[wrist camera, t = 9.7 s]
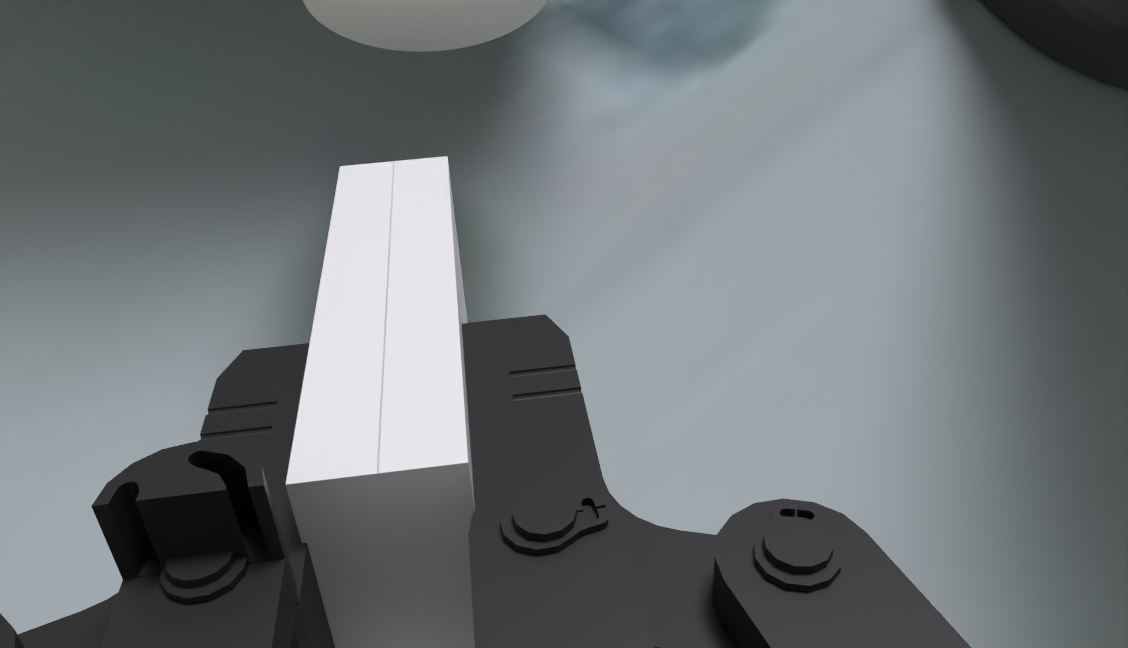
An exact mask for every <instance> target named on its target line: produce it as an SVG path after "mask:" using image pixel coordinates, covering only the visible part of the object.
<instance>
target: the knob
mask: <svg viewBox="0 0 1128 648" xmlns="http://www.w3.org/2000/svg"><path fill="white" fill-rule="evenodd" d="M547 1H548V0H303V2H304V4H305V6H306V8H307V9H308V11H309V12H310V13H311V14H312V15H313V17H314V18H316V19H317V20H318V21H319V22H320V23H321V24H322V25H324V26H325V27H327V28H328V29H330V30H331V31H333V32H335V33H337V34H339V35H341V36H343V37H345V38H348V39H350V40H353V41H355V42H359V43H362V44H365V45H369V46H373V47H378V48H383V49H390V50H397V51H410V52H429V51H444V50H452V49H459V48H464V47H469V46H473V45H477V44H481V43H484V42H487V41H490V40H493V39H496V38H499V37H501V36H503V35H506V34H508V33H510V32H512V31H514V30H515V29H517V28H519V27H521V26H522V25H524V24H525V23H527V22H528V21H529V20H531V19H532V18H533V17H534V16H535V15H537V14H538V13H539V11H540V10H541V9H542V8H543V7H544V6H545V4H546V3H547Z"/></svg>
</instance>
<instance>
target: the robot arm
mask: <svg viewBox="0 0 1128 648" xmlns="http://www.w3.org/2000/svg"><path fill="white" fill-rule="evenodd" d="M984 1H985V2H986V3H987V4H988V5H989V6H990V7H991V8H992V9H993V10H994V11H995V12H996V13H997V14H998V15H999V16H1000V17H1001V18H1002V19H1003V20H1004V21H1005V22H1006V23H1008V24H1009V25H1010V26H1011V27H1012V28H1013V29H1015V30H1016V31H1017V32H1018V33H1019V34H1021V35H1022V36H1023V37H1025V38H1026V39H1027V40H1029V41H1030V42H1031V43H1033V44H1034V45H1035V46H1037V47H1038V48H1040V49H1042V50H1043V51H1045V52H1046V53H1048V54H1049V55H1051V56H1052V57H1054V58H1056V59H1058V60H1060V61H1061V62H1063V63H1065V64H1067V65H1068V66H1070V67H1072V68H1075V69H1077V70H1079V71H1081V72H1083V73H1085V74H1087V75H1090V76H1092V77H1095V78H1097V79H1100V80H1102V81H1105V82H1107V83H1110V84H1114V85H1117V86H1120V87H1123V88H1126V89H1128V0H984ZM200 435H201V440H199V441H198V442H192V443H188V444H184V445H179V446H175V447H171V448H166V449H162V450H160V451H158V452H156V453H154V454H152V455H150V456H147V457H145V458H143V459H141V460H139V461H137V462H135V463H132V464H131V465H130V466H128V467H127V468H126V469H125V470H123V471H122V472H121V473H120V474H118V475H117V476H116V477H115V478H113V479H112V480H111V481H109V482H108V483H107V484H106V486H105V487H104V489H103V490H102V491H101V493H100V494H99V496H98V497H97V499H96V500H95V502H94V503H93V505H92V508H93V511H94V513H95V515H96V518H97V520H98V522H99V525H100V527H101V529H102V532H103V534H104V536H105V539H106V541H107V543H108V546H109V548H110V550H111V553H112V555H113V557H114V560H115V562H116V564H117V567H118V569H119V571H120V574H121V576H122V578H123V581H122V584H121V587H120V590H119V592H118V593H117V594H115V595H114V596H112V597H110V598H109V599H107V600H105V601H103V602H101V603H98V604H96V605H94V606H92V607H90V608H87V609H85V610H83V611H81V612H78V613H75V614H72V615H70V616H67V617H64V618H61V619H59V620H56V621H53V622H51V623H48V624H45V625H42V626H40V627H37V628H34V629H32V630H29V631H26V632H23V633H21V634H18V635H17V633H16V631H15V630H14V628H13V627H12V626H11V625H10V624H9V623H8V622H7V620H6V619H5V618H4V617H3V616H2V615H1V614H0V648H971V647H970V646H969V645H968V644H967V643H966V642H965V640H964V639H963V638H962V637H961V636H960V635H959V634H958V633H957V632H956V631H955V629H954V628H953V627H952V626H951V625H950V624H949V623H948V622H947V621H946V620H945V618H944V617H943V616H942V615H941V614H940V613H939V612H938V611H937V610H936V609H935V607H934V606H933V605H932V604H931V603H930V602H929V601H928V600H927V599H926V598H925V596H924V595H923V594H922V593H921V592H920V591H919V590H918V589H917V588H916V587H915V586H914V584H913V583H912V582H911V581H910V580H909V579H908V578H907V577H906V576H905V575H904V573H903V572H902V571H901V570H900V569H899V568H898V567H897V566H896V565H895V564H894V562H893V561H892V560H891V559H890V558H889V557H888V556H887V555H886V554H885V553H884V551H883V550H882V549H881V548H880V547H879V546H878V545H877V544H876V543H875V542H874V540H873V539H872V538H871V537H870V536H869V535H868V534H867V533H866V532H865V531H864V530H863V529H861V528H860V527H859V526H858V525H856V524H855V523H854V522H852V521H851V520H850V519H849V518H847V517H846V516H845V515H844V514H842V513H839V512H837V511H834V510H832V509H829V508H827V507H824V506H822V505H819V504H817V503H814V502H807V501H798V500H790V499H778V500H772V501H766V502H759V503H754V504H752V505H750V506H748V507H747V508H745V509H743V510H741V511H739V512H737V513H735V514H733V515H732V516H731V517H730V518H729V520H728V521H727V522H726V523H725V525H724V526H723V527H722V529H721V530H720V531H719V533H718V534H717V535H712V534H704V533H696V532H688V531H680V530H675V529H670V528H666V527H661V526H657V525H654V524H652V523H650V522H647V521H645V520H643V519H640V518H638V517H636V516H635V515H633V514H632V513H630V512H629V511H627V510H626V509H625V508H623V507H622V506H620V505H619V503H618V502H617V501H616V500H615V499H614V498H613V496H612V495H611V494H610V493H609V491H608V489H607V487H606V484H605V482H604V480H603V477H602V473H601V469H600V465H599V460H598V456H597V452H596V448H595V444H594V440H593V436H592V431H591V427H590V423H589V419H588V415H587V411H586V407H585V402H584V398H583V394H582V393H581V386H580V382H579V378H578V374H577V370H576V367H575V361H574V357H573V353H572V349H571V345H570V340H569V337H568V336H567V335H566V334H565V333H564V332H563V331H562V330H561V329H560V328H559V327H558V326H557V325H556V324H555V323H554V322H553V321H552V320H551V319H550V318H548V317H547V316H546V315H537V316H528V317H519V318H509V319H500V320H491V321H482V322H473V323H468V322H467V313H466V305H465V296H464V288H463V280H462V271H461V263H460V255H459V247H458V238H457V230H456V222H455V214H454V205H453V197H452V189H451V181H450V172H449V164H448V156H444V157H433V158H423V159H412V160H401V161H391V162H380V163H369V164H359V165H348V166H340V169H339V175H338V181H337V187H336V192H335V198H334V204H333V210H332V216H331V222H330V227H329V233H328V239H327V245H326V251H325V257H324V263H323V268H322V274H321V280H320V286H319V292H318V298H317V304H316V309H315V315H314V321H313V327H312V333H311V339H310V343H307V344H298V345H289V346H280V347H270V348H261V349H252V350H243V351H242V352H241V353H240V354H239V355H238V357H237V358H236V359H235V360H234V361H233V362H232V363H231V364H230V365H229V366H228V367H227V368H226V369H225V371H224V372H223V373H222V374H221V375H220V376H219V377H218V378H217V380H216V383H215V387H214V390H213V393H212V397H211V400H210V403H209V407H208V415H206V417H205V420H204V423H203V427H202V430H201V433H200Z"/></svg>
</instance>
